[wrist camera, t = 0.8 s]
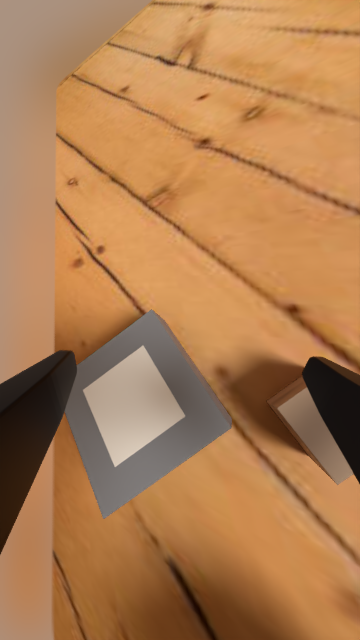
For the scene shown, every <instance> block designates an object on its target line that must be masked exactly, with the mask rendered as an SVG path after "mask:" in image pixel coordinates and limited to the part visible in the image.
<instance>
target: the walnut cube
mask: <svg viewBox="0 0 360 640" xmlns="http://www.w3.org/2000/svg"><path fill="white" fill-rule="evenodd" d="M266 402H267V403H268V404H269V406H270V407H271V408H272V409H273V411H274V412H275V413H276V415H277V416H278V417H279V418H280V420H281V421H282V422H283V424H284V425H285V426H286V427H287V429H288V430H289V431H290V433H291V434H292V435H293V436H294V438H295V439H296V440H297V442H298V443H299V444H300V445H301V447H302V448H303V449H304V451H305V452H306V453H307V454H308V456H309V457H310V458H311V459H312V460H313V461H314V462H315V463H316V464H317V465H318V466H319V467H320V468H321V469H322V470H323V471H324V472H325V473H326V474H327V475H328V476H329V477H330V478H331V479H332V480H333V481H334V482H335V483H336V484H337V485H338V484H340V483H341V482H343V481H344V480H346V479H347V478H349V477H350V476H351V475H353V474H354V473H353V472H352V470H351V468H350V466H349V465H348V463H347V461H346V459H345V458H344V456H343V454H342V452H341V451H340V449H339V447H338V445H337V444H336V442H335V440H334V439H333V437H332V435H331V433H330V432H329V430H328V428H327V426H326V425H325V423H324V421H323V419H322V418H321V416H320V414H319V412H318V410H317V408H316V406H315V403H314V401H313V399H312V397H311V395H310V393H309V390H308V388H307V386H306V384H305V382H304V380H303V377H302V376H301V377H300V378H298V379H297V380H295V381H294V382H293V383H291V384H290V385H288V386H287V387H286V388H284V389H283V390H281V391H280V392H279V393H277V394H276V395H274V396H273V397H272V398H270V399H269V400H267V401H266Z"/></svg>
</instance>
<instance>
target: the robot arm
mask: <svg viewBox="0 0 360 640" xmlns="http://www.w3.org/2000/svg"><path fill="white" fill-rule="evenodd" d="M76 375H77V365H76V361H75V356H74V353H73V351H71V350H60V351H58V352H56V353H54V354H52V355H51V356H49V357H47V358H45V359H44V360H42V361H40V362H38V363H37V364H35V365H33V366H31V367H29V368H28V369H26V370H24V371H22V372H21V373H19V374H17V375H15V376H14V377H12V378H10V379H8V380H7V381H5V382H3V383H1V384H0V554H1V552H2V550H3V547H4V545H5V543H6V541H7V539H8V536H9V534H10V532H11V530H12V528H13V525H14V523H15V521H16V519H17V517H18V514H19V512H20V510H21V508H22V506H23V503H24V501H25V499H26V497H27V495H28V492H29V490H30V488H31V486H32V483H33V481H34V479H35V477H36V474H37V472H38V470H39V468H40V466H41V464H42V461H43V459H44V457H45V454H46V453H47V450H48V448H49V446H50V443H51V442H52V439H53V437H54V435H55V433H56V430H57V428H58V426H59V424H60V422H61V419H62V417H63V414H64V411H65V409H66V406H67V403H68V399H69V396H70V393H71V390H72V387H73V384H74V381H75V378H76ZM302 377H303V380H304V382H305V384H306V386H307V388H308V390H309V393H310V395H311V397H312V399H313V401H314V403H315V406H316V408H317V410H318V412H319V414H320V416H321V418H322V419H323V421H324V423H325V425H326V426H327V428H328V430H329V432H330V433H331V435H332V437H333V439H334V440H335V442H336V444H337V445H338V447H339V449H340V451H341V452H342V454H343V456H344V458H345V459H346V461H347V463H348V465H349V466H350V468H351V470H352V472H353V473H354V475H355V477H356V478H357V480H358V482H359V484H360V375H359V374H357V373H355V372H353V371H351V370H348V369H346V368H344V367H342V366H340V365H338V364H336V363H334V362H332V361H330V360H328V359H326V358H324V357H311V358H309V360H308V362H307V364H306V366H305V368H304V370H303V372H302Z"/></svg>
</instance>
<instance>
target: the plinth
mask: <svg viewBox="0 0 360 640" xmlns="http://www.w3.org/2000/svg"><path fill="white" fill-rule="evenodd" d="M65 414H66V417H67V420H68V422H69V425H70V428H71V431H72V433H73V436H74V439H75V442H76V444H77V447H78V450H79V453H80V456H81V458H82V461H83V464H84V467H85V469H86V472H87V475H88V478H89V480H90V483H91V486H92V489H93V491H94V494H95V497H96V500H97V503H98V505H99V508H100V511H101V514H102V516H103V519H105V518H106V517H107V516H109V515H110V514H112V513H113V512H114V511H116V510H117V509H119V508H120V507H121V506H123V505H124V504H126V503H127V502H128V501H130V500H131V499H133V498H134V497H135V496H137V495H138V494H140V493H141V492H142V491H144V490H145V489H147V488H148V487H149V486H151V485H152V484H154V483H155V482H156V481H158V480H159V479H161V478H162V477H163V476H165V475H166V474H168V473H169V472H170V471H172V470H173V469H175V468H176V467H177V466H179V465H180V464H182V463H183V462H184V461H186V460H187V459H189V458H190V457H191V456H193V455H194V454H196V453H197V452H198V451H200V450H201V449H203V448H204V447H205V446H207V445H208V444H210V443H211V442H212V441H214V440H215V439H217V438H218V437H219V436H221V435H222V434H224V433H225V432H226V431H228V430H229V429H231V424H232V418H231V417H230V415H229V414H228V412H227V411H226V410H225V408H224V407H223V405H222V404H221V402H220V401H219V399H218V398H217V396H216V395H215V393H214V392H213V391H212V389H211V388H210V386H209V385H208V383H207V382H206V380H205V379H204V377H203V376H202V374H201V373H200V372H199V370H198V369H197V367H196V366H195V364H194V363H193V361H192V360H191V358H190V357H189V355H188V354H187V353H186V351H185V350H184V348H183V347H182V345H181V344H180V342H179V341H178V339H177V338H176V336H175V335H174V334H173V332H172V331H171V329H170V328H169V326H168V325H167V323H166V322H165V321H164V320H163V319H162V318H161V317H160V316H159V315H158V314H156V313H155V312H154V311H153V310H152V309H151V310H150V311H149V312H147V313H146V314H145V315H143V316H142V317H141V318H139V319H138V320H137V321H135V322H134V323H133V324H131V325H130V326H129V327H127V328H126V329H125V330H123V331H122V332H121V333H119V334H118V335H117V336H115V337H114V338H113V339H111V340H110V341H109V342H107V343H106V344H105V345H103V346H102V347H101V348H99V349H98V350H97V351H95V352H94V353H93V354H91V355H90V356H89V357H87V358H86V359H85V360H83V361H82V362H81V363H79V364H78V365H77V375H76V378H75V381H74V384H73V387H72V390H71V393H70V396H69V399H68V403H67V406H66V409H65Z"/></svg>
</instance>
